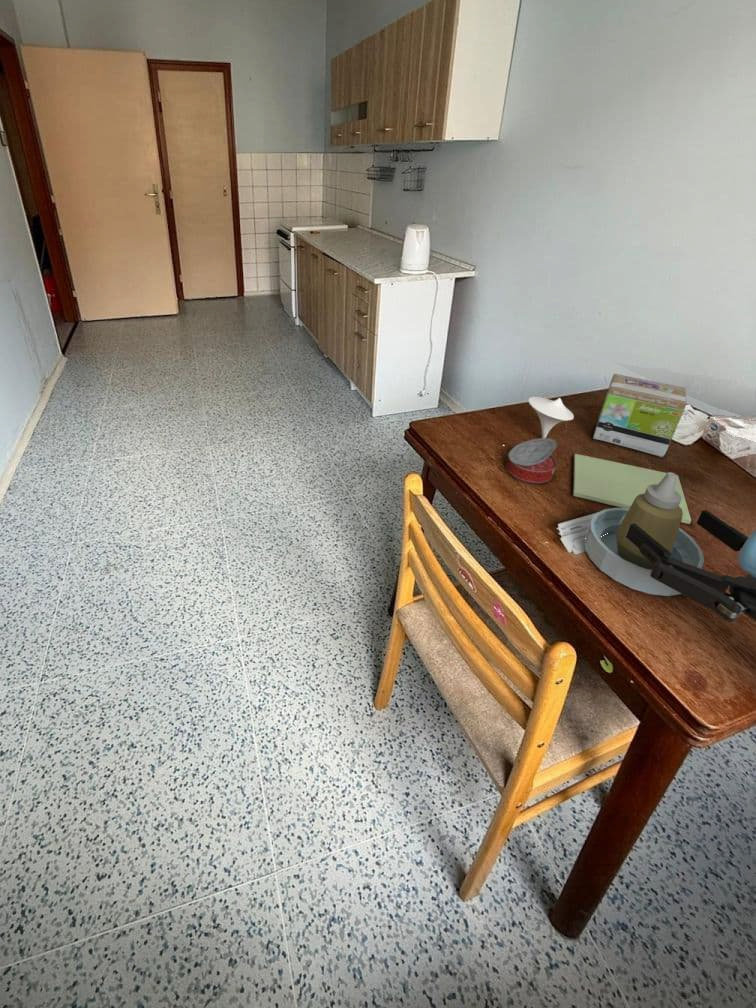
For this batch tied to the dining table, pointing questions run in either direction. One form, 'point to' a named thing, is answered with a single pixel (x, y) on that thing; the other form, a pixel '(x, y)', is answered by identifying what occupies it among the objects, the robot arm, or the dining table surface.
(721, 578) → the robot arm
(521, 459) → the canned food
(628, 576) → the bowl
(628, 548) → the squeeze bottle
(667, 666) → the dining table surface
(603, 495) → the mat
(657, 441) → the tea box
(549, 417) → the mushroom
